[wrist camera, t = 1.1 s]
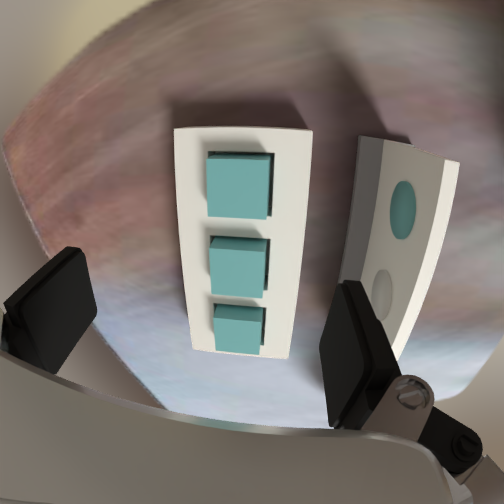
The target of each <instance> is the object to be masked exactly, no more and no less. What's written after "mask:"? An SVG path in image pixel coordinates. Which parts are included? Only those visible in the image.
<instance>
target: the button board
mask: <svg viewBox="0 0 504 504" xmlns="http://www.w3.org/2000/svg"><path fill="white" fill-rule="evenodd" d="M312 137H313V131H311V130H309V129H298V128H283V127H262V126H195V127H183V128H177V129H174V154H175V178H176V197H177V212H178V225H179V238H180V249H181V259H182V269H183V278H184V287H185V295H186V303H187V311H188V318H189V325H190V332H191V339H192V346H193V349H194V350H202V351H209V352H217V353H225V354H234V355H244V356H255V357H267V358H281V359H288V356H289V350H290V343H291V337H292V330H293V323H294V316H295V309H296V302H297V294H298V287H299V279H300V270H301V262H302V253H303V244H304V235H305V225H306V215H307V204H308V193H309V181H310V168H311V153H312ZM216 153H225V154H260V155H271V158H270V183H269V206H268V213H267V219H266V220H261V219H244V218H225V217H208V213H207V173H206V159H207V158H209V157H210V156H212V155H214V154H216ZM216 235H217V236H234V237H249V238H265V239H267V248H266V267H265V282H264V290H263V298H249V297H237V296H226V295H215V294H211V279H210V260H209V247H210V245H211V243H212V242H213V240H214V238H215V236H216ZM218 303H219V304H230V305H241V306H253V307H263V321H262V336H261V344H260V353H259V355H254V354H243V353H233V352H224V351H216V349H215V337H214V324H213V316H214V313H215V310H216V307H217V304H218Z"/></svg>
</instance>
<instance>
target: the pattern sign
mask: <svg viewBox="0 0 504 504" xmlns="http://www.w3.org/2000/svg"><path fill="white" fill-rule="evenodd" d="M459 164H460V163H458V162H456V161H453V160H450V159H448V158H445V157H442V156H439V155H436V154H433V153H430V152H427V151H424V150H421V149H418V148H415V145H412V144H407V143H402V142H397V141H391V140H386V139H380V138H374V137H368V136H361V135H358V147H357V158H356V167H355V176H354V185H353V193H352V201H351V208H350V215H349V221H348V228H347V234H346V240H345V246H344V252H343V258H342V263H341V268H340V273H339V279H338V283H343V281H344V280H355V281H361V283H362V285H363V287H364V289H365V292H366V294H367V296H368V299H369V301H370V303H371V306H372V308H373V310H374V313H375V315H376V317H377V319H378V320H380V321H381V323H382V325H383V328H384V330H385V332H386V335H387V337H388V340H389V342H390V345H391V348H392V350H393V353H394V355H395V358H396V360H397V361H398V359H399V357H400V355H401V353H402V351H403V348H404V346H405V344H406V342H407V340H408V337H409V335H410V333H411V331H412V328H413V326H414V324H415V321H416V319H417V316H418V314H419V311H420V309H421V306H422V304H423V301H424V299H425V296H426V293H427V290H428V288H429V285H430V282H431V279H432V276H433V273H434V270H435V267H436V264H437V261H438V257H439V254H440V251H441V247H442V244H443V240H444V236H445V233H446V229H447V225H448V221H449V216H450V212H451V208H452V203H453V198H454V193H455V188H456V182H457V177H458V170H459ZM337 285H338V284H337Z"/></svg>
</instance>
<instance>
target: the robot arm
mask: <svg viewBox="0 0 504 504" xmlns="http://www.w3.org/2000/svg"><path fill="white" fill-rule="evenodd" d="M3 304H4V306H5V309H6V311H7V312H6V314H5V315H4V313H3V311H2V309H1V308H0V504H504V472H503V471H502V470H501V469H500V468H499V467H498V466H497V464H496V463H495V462H494V461H493V460H492V459H491V458H490V457H489V456H488V455H486V456H484V457H483V456H482V450H483V449H482V442H481V439H480V438H479V436H478V435H477V433H475V432H474V431H473V430H472V429H470V428H468V427H466V426H465V425H463V424H462V423H460V422H458V421H457V420H455V419H453V418H452V417H450V416H449V415H447V414H445V413H444V412H442V411H440V410H439V409H437V408H436V407H434V406H433V405H434V393H433V391H432V389H431V387H430V386H429V385H428V383H427V382H426V381H424V380H423V379H421V378H419V377H417V376H414V375H402V374H401V371H400V369H399V366H398V363H397V360H396V358H395V355H394V353H393V350H392V348H391V345H390V342H389V340H388V337H387V335H386V332H385V330H384V328H383V325H382V323H381V321H380V320H378V319H377V317H376V315H375V313H374V310H373V308H372V306H371V303H370V301H369V299H368V296H367V294H366V292H365V289H364V287H363V285H362V283H361V281H355V280H344V281H343V283H338V285H337V287H336V291H335V294H334V298H333V301H332V304H331V308H330V311H329V314H328V318H327V321H326V324H325V327H324V330H323V333H322V337H321V340H320V345H319V351H320V358H321V365H322V372H323V380H324V388H325V396H326V404H327V413H328V422H329V426H330V427H334V429H321V428H293V427H277V426H266V425H255V424H245V423H237V422H229V421H222V420H215V419H209V418H203V417H197V416H192V415H186V414H181V413H177V412H172V411H167V410H163V409H159V408H154V407H150V406H146V405H142V404H139V403H135V402H131V401H128V400H124V399H120V398H117V397H114V396H111V395H108V394H105V393H101V392H98V391H96V390H93V389H90V388H87V387H84V386H82V385H79V384H76V383H74V382H71V381H68V380H66V379H63V378H61V377H58V376H56V375H54V374H57V372H58V371H59V369H60V368H61V366H62V365H63V363H64V362H65V360H66V359H67V357H68V355H69V354H70V352H71V351H72V350H73V348H74V347H75V345H76V343H77V342H78V341H79V339H80V338H81V337H82V335H83V334H84V332H85V331H86V329H87V328H88V326H89V325H90V324H91V322H92V321H93V320H94V318H95V317H96V314H97V306H96V302H95V298H94V294H93V290H92V286H91V281H90V277H89V272H88V267H87V262H86V257H85V254H84V253H83V252H82V250H81V249H80V248H77V247H70V246H67V247H65V248H64V249H63V250H62V251H60V252H59V253H58V254H57V255H56V256H54V257H53V258H52V259H51V260H50V261H49V262H47V263H46V264H45V265H44V266H43V267H42V268H40V269H39V270H38V271H37V272H36V273H35V274H34V275H33V276H31V277H30V278H29V279H28V280H27V281H26V282H25V283H24V284H23V285H22V286H21V287H19V288H18V289H17V291H15V292H14V293H13V294H12V295H11V296H10V297H9V298H8V299H7V300H6V301H5V302H4V303H3Z"/></svg>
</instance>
